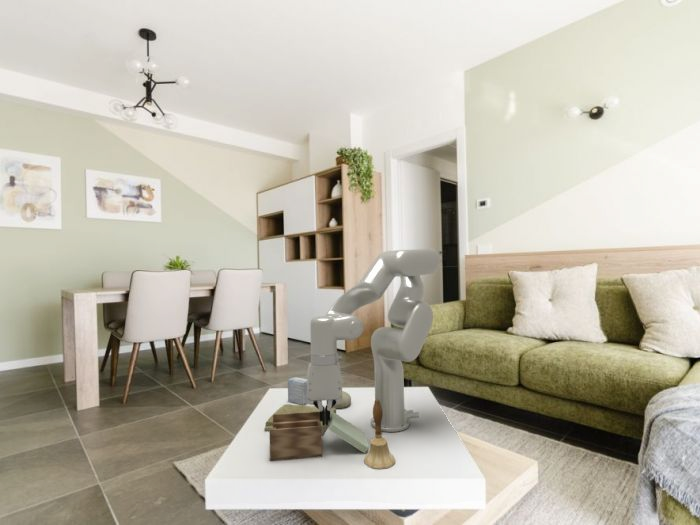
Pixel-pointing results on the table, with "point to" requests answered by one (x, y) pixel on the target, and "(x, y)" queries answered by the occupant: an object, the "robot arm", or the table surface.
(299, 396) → the medicine box
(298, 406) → the decorative tile
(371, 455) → the hand bell
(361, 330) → the robot arm
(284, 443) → the box
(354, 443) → the cover plate
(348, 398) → the sea urchin shell
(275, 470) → the table surface
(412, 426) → the table surface
